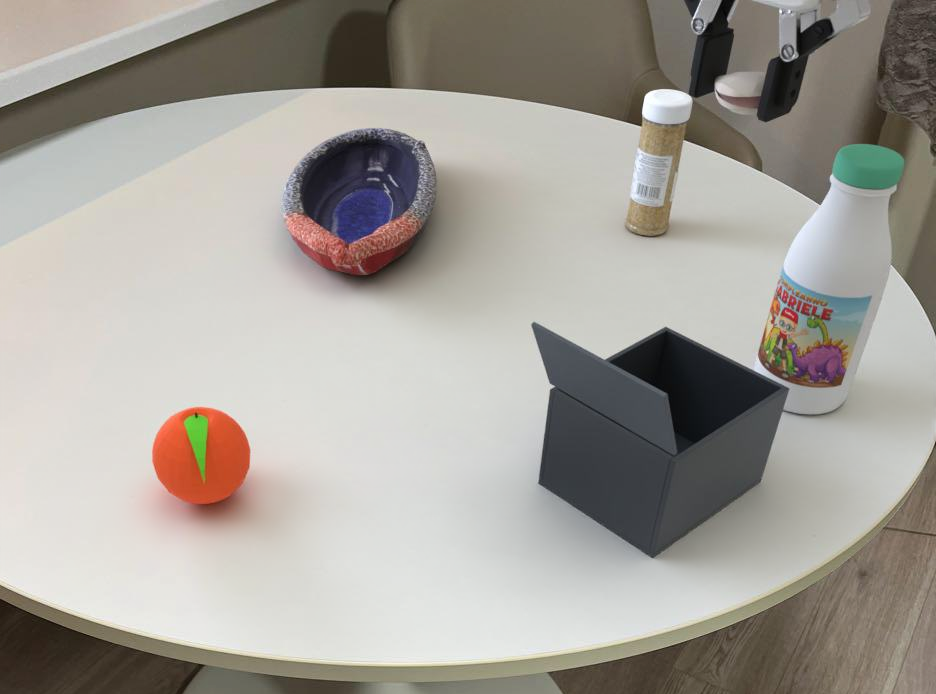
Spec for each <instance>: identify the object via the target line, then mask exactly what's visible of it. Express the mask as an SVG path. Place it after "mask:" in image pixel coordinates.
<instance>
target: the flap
mask: <svg viewBox="0 0 936 694" xmlns="http://www.w3.org/2000/svg"><path fill="white" fill-rule="evenodd" d="M530 325H531V330H532V332H533V335H534V338H535V341H536V344H537V348H538V352H539V354H540V357H541V361H542V364H543V367H544V370H545V374H546V376H547V379H548V382H549V384H550V385H551V386H553V387H557V388H558V389H560V390H562V391H564V392H565V393H567V394H569V395H571V396H572V397H574V398H576V399H577V400H579V401H581V402H583V403H584V404H586V405H588V406H590V407H591V408H593V409H595V410H596V411H598V412H600V413H602V414H603V415H605V416H607V417H608V418H610V419H612V420H614V421H615V422H617V423H619V424H621V425H622V426H624V427H626V428H627V429H629V430H631V431H633V432H634V433H636V434H638V435H640V436H641V437H643V438H645V439H646V440H648V441H650V442H652V443H653V444H655V445H657V446H658V447H660V448H662V449H664V450H665V451H667V452H669V453H671V454H672V455H674V456H675V455H676V454H677V447H676V441H675V436H674V430H673V424H672V418H671V412H670V406H669V400H668V394H667V393H665V392H663V391H661V390H659V389H657V388H656V387H654V386H652V385H650V384H648V383H646V382H645V381H643V380H641V379H639V378H637V377H635V376H633V375H632V374H630V373H628V372H626V371H624V370H622V369H621V368H619V367H617V366H615V365H613V364H611V363H609V362H608V361H606V360H605V359H604V358H602V357H601V356H598V355H597V354H594V353H593V352H591V351H590V350H588V349H585V348H584V347H582V346H580V345H579V344H576V343H574V342H573V341H571V340H569V339H567V338H565V337H563V336H561V335H560V334H558V333H556V332H554V331H552V330H550V329H549V328H546V326H544V325H541V324H540V323H538V322H536V321H532V323H531V324H530Z"/></svg>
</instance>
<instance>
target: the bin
mask: <svg viewBox="0 0 936 694" xmlns="http://www.w3.org/2000/svg"><path fill="white" fill-rule="evenodd" d="M604 360H606V361H608V362H609V363H611V364H613V365H615V366H617V367H619V368H621V369H622V370H624V371H626V372H628V373H630V374H632V375H633V376H635V377H637V378H639V379H641V380H643V381H645V382H646V383H648V384H650V385H652V386H654V387H656V388H657V389H659V390H661V391H663V392H665V393H667V394H668V400H669V406H670V412H671V418H672V424H673V430H674V436H675V441H676V447H677V454H676V455H675V456H674V455H672V454H671V453H669V452H667V451H665V450H664V449H662V448H660V447H658V446H657V445H655V444H653V443H652V442H650V441H648V440H646V439H645V438H643V437H641V436H640V435H638V434H636V433H634V432H633V431H631V430H629V429H627V428H626V427H624V426H622V425H621V424H619V423H617V422H615V421H614V420H612V419H610V418H608V417H607V416H605V415H603V414H602V413H600V412H598V411H596V410H595V409H593V408H591V407H590V406H588V405H586V404H584V403H583V402H581V401H579V400H577V399H576V398H574V397H572V396H571V395H569V394H567V393H565V392H564V391H562V390H560V389H558V388H557V387H555V386H553V387H552V388H550V389H549V394H548V403H547V410H546V418H545V427H544V434H543V444H542V450H541V456H540V457H541V459H540V464H539V465H540V467H539V474H538V482H537V483H538V484H539V485H541V486H542V487H544V488H545V489H547V490H548V491H550V492H551V493H553V494H554V495H556V496H557V497H559V498H560V499H562V500H563V501H565V502H566V503H568V504H570V505H571V506H573V507H574V508H576V510H579V511H580V512H581V513H583V514H584V515H586V516H587V517H589V518H591V519H592V520H594V521H596V522H597V523H598V524H600V525H601V526H603V527H605V528H606V529H608V530H609V531H611V532H612V533H614V534H616V535H617V536H618V537H620V538H621V539H623V540H625V541H626V542H627V543H629V544H630V545H632V546H633V547H635V548H637V549H638V550H640V551H641V552H642V553H644V554H645V555H647V556H649V557H650V558H652V559H654V558H655V557H657V555H659V554H661V553H662V552H663V551H666V549H668V548H669V547H670V546H672V545H673V544H675V543H677V542H678V541H679V540H681V539H682V538H683V537H685V536H686V535H687V534H689V533H691V532H692V531H693V530H695V529H697V527H699V526H700V525H702V524H703V523H704V522H706V521H707V520H708V519H711V517H713V516H715V515H716V514H717V513H719V512H720V511H722V510H723V509H724V508H726V507H727V506H729V505H730V504H731V503H733V502H734V501H735V500H737V499H739V497H741V496H742V495H744V494H746V493H747V492H748V491H750V490H751V489H753V488H754V487H755V486H757V485H758V484H760V483H761V482H762V478H763V475H764V472H765V470H766V466H767V462H768V459H769V456H770V453H771V450H772V446H773V443H774V440H775V437H776V434H777V430H778V427H779V424H780V420H781V418H782V414H783V411H784V410H783V408H784V405H785V402H786V398H787V395H788V392H789V388H788V387H786V386H784V385H782V384H780V383H778V382H776V381H774V380H772V379H770V378H768V377H766V376H764V375H762V374H760V373H758V372H756V371H754V369H752V368H750V367H748V366H747V365H744V364H743V363H740V362H737V361H735V360H733V359H732V358H729V357H728V356H726V355H723V354H722V353H720V352H718V351H716V350H714V349H711V348H710V347H707V346H706V345H703V344H702V343H700V342H697V341H696V340H693V339H692V338H690V337H688V336H685V335H683V334H682V333H680V332H677V331H676V330H674V329H672V328H670V327H667V326H664V327H662V328H660V329H659V330H657V331H655V332H653V333H652V334H649V335H648V336H646V337H644V338H641V339H640V340H638V341H636V342H635V343H633V344H631V345H629V346H628V347H625V348H623V349H622V350H620V351H618V352H616V353H614V354H612V355H611V356H609V357H607V358H605V359H604Z"/></svg>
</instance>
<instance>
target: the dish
mask: <svg viewBox="0 0 936 694" xmlns="http://www.w3.org/2000/svg"><path fill="white" fill-rule="evenodd" d="M436 171H437V170H436V168H435V164H434V162H433V159H432V157H431V155H430V151H429V150H428V148H427V146H426V142H425V141H424V140H417V139H416V138H414V137H413V136H410V135H409V134H407V133H404V132H401V131H398V130H394V129H390V128H382V127H368V128H359V129H358V128H357V129H354V130H350V131H346V132H343V133H340V134H338V135H335V136H332V137H330V138H328V139H326V140H325V141H322V142H321V143H319V144H317V145H316V146H315V147H313V148H312V149H311V150H310V151H309V152H307V153H306V154H305V155H304V156H303V157H302V158H301V160H300V161H299V162H298V163H297V165H296V166H294V168H293V170H292V172H291V173H290V175H289V177H288V179H287V181H286V183H285V186H284V189H283V193H282V199H281V213H282V219H283V222H284V224H285V227H286V228H287V230H288V231H289V233H290V236H291V238H292V240H293V241H294V243H295V244H296V245H297V246H298V248H299V249H300V250H301V251H302V253H304V254H305V255H306V256H307V257H309V258H310V259H312V260H314V261H315V262H316V263H318V265H320V266H321V267H323V268H324V269H328V270H332V271H337V272H341V273H345V274H350V275H355V276H356V275H357V276H366V275H372V274H374V273H376V272H378V271H380V269H382V268H383V267H385V266H387V265H389V264H390V263H392V262H393V261H395V260H397V259H398V258H400V257H401V256H403V255H404V254H405V253H407V252H408V251H409V250H410V249H411V248H412V247H413V246H414V245H415V243H416V242H417V240H418V239H419V238H420V236H421V234H422V233H423V231H424V229H425V227H426V225H427V222H428V219H429V218H430V215H431V213H432V211H433V208H434V205H435V201H436V197H437V185H438V179H437V172H436Z"/></svg>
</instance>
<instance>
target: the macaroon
mask: <svg viewBox="0 0 936 694" xmlns="http://www.w3.org/2000/svg"><path fill="white" fill-rule="evenodd" d="M765 76H766V72H763V71H734V72H728V73H726V74H725V75H721V76H719V77H717V78H716V79H715V84H714V87H715V92H714V93H715V97H716V99H717V101H718V103H719V104H720V105H721V106H722V107H724V108H726V109H728V110H729V111H730V112H732V113H735V114H738V115H745V116H746V115H747V116H750V115H757V111H758V107H759V102H760V98H761V94H762V89H763V85H764V80H765Z"/></svg>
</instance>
